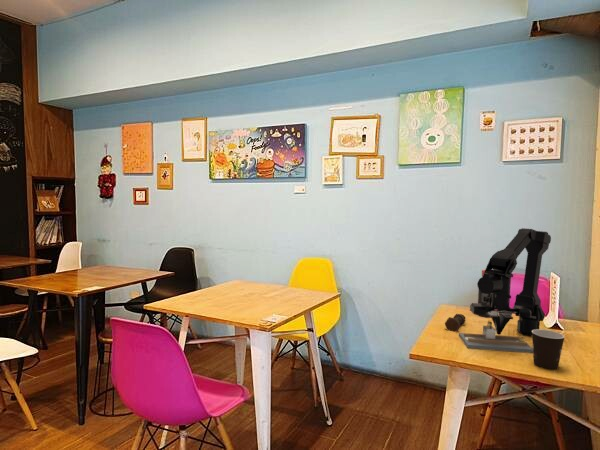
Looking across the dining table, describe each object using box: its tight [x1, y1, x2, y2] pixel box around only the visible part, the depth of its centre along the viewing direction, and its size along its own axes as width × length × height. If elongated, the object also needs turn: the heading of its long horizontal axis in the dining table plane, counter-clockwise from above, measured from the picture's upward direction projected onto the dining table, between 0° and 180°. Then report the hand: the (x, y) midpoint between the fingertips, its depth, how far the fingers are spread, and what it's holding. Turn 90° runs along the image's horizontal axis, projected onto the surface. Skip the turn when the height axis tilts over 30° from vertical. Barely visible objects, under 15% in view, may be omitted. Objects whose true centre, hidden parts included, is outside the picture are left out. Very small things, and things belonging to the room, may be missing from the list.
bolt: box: [444, 313, 467, 332], centre depth 163 cm, size 6×5×15 cm
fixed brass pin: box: [518, 336, 526, 342], centre depth 142 cm, size 2×2×2 cm
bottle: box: [477, 269, 491, 318], centre depth 179 cm, size 7×7×20 cm
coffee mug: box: [531, 328, 565, 371], centre depth 126 cm, size 12×9×10 cm
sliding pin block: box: [482, 320, 497, 340], centre depth 144 cm, size 3×4×6 cm
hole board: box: [458, 332, 533, 354], centre depth 144 cm, size 21×13×2 cm, turn 81°
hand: (498, 334), depth 143 cm, fingers closed
